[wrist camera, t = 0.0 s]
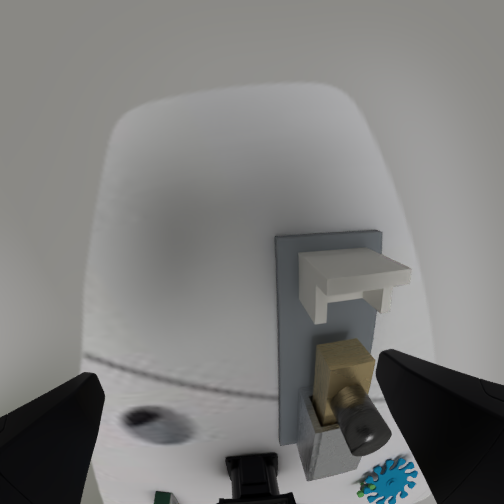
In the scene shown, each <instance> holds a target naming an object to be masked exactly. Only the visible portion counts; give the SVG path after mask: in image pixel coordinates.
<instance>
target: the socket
mask: <svg viewBox="0 0 504 504" xmlns="http://www.w3.org/2000/svg"><path fill="white" fill-rule="evenodd" d="M298 256H299V300H300V302H301V303H302V305H303V306H304V308H305V310H306V311H307V313H308V314H309V316H310V317H311V319H312V321H313V322H314V324H322V323H326V321H327V303H331V302H339V301H346V300H353V299H360V298H363V299H364V300H365V301H366V302H368V303H369V304H370V305H371V306H372V307H373V308H375V309H376V310H377V311H378V312H379V313H380V314H382V313H387V312H390V306H391V298H392V289H393V287H395V286H401V285H407V284H410V278H411V268H409V267H407V266H405V265H403V264H401V263H399V262H396V261H394V260H392V259H390V258H388V257H386V256H384V255H382V254H379V253H377V252H375V251H373V250H371V249H368V248H366V247H364V248H352V249H339V250H327V251H314V252H302V253H298Z"/></svg>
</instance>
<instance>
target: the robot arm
mask: <svg viewBox="0 0 504 504" xmlns="http://www.w3.org/2000/svg"><path fill="white" fill-rule="evenodd" d="M376 378H377V381H378V383H379V386H380V388H381V390H382V393H383V395H384V398H385V400H386V403H387V405H388V408H389V410H390V412H391V414H392V416H393V418H394V420H395V422H396V424H397V426H398V428H399V429H400V431H401V433H402V435H403V437H404V439H405V441H406V442H407V444H408V446H409V448H410V450H411V452H412V454H413V456H414V458H415V460H416V462H417V464H418V466H419V468H420V470H421V471H422V473H423V475H424V477H425V480H426V482H427V484H428V486H429V488H430V490H431V492H432V494H433V496H434V498H435V500H436V502H437V504H504V385H501V384H497V383H493V382H490V381H486V380H483V379H479V378H476V377H473V376H470V375H467V374H464V373H461V372H458V371H455V370H452V369H448V368H445V367H443V366H439V365H437V364H434V363H431V362H428V361H425V360H422V359H419V358H416V357H414V356H411V355H408V354H405V353H402V352H400V351H397V350H394V349H389V350H385V351H382V352H381V353H380V354H379V358H378V363H377V368H376ZM104 401H105V394H104V391H103V388H102V386H101V384H100V381H99V379H98V377H97V375H96V374H95V373H90V372H83V373H82V374H80V375H78V376H76V377H75V378H73V379H71V380H69V381H67V382H65V383H64V384H62V385H60V386H58V387H56V388H54V389H53V390H51V391H49V392H48V393H45V394H43V395H42V396H40V397H38V398H36V399H34V400H32V401H31V402H29V403H27V404H25V405H23V406H21V407H19V408H17V409H16V410H14V411H12V412H10V413H8V415H7V414H6V415H4V416H2V417H0V504H80V502H81V498H82V494H83V489H84V485H85V481H86V477H87V473H88V468H89V465H90V461H91V457H92V454H93V450H94V447H95V443H96V440H97V436H98V431H99V426H100V421H101V415H102V410H103V406H104ZM225 462H226V466H227V469H228V473H229V477H230V480H231V481H232V499H224V498H219V503H216V504H296V502H295V499H294V496H293V493H292V492H290V493H287V494H279V489H278V483H277V478H276V477H277V473H278V456H277V454H275V453H273V454H264V455H254V456H241V457H227V458H226V459H225Z"/></svg>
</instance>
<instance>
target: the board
mask: <svg viewBox="0 0 504 504" xmlns="http://www.w3.org/2000/svg"><path fill="white" fill-rule="evenodd" d="M364 247H366V248H368V249H371V250H373V251H375V252H377V253H379V254H382V232H381V231H378V230H369V231H352V232H335V233H319V234H303V235H288V236H275V250H276V276H277V307H278V351H279V442H280V446H282V445H289V444H295V443H296V431H297V417H298V400H299V388H302V387H308V386H314V376H315V362H316V347H317V345H319V344H325V343H331V342H337V341H343V340H348V339H354V338H357V339H358V340H359V341H360V342H361V344H362V345H363V346H364V347H365V348H366V350H367V351H368V352H369V353H370V354H371V348H372V342H373V335H374V328H375V321H376V313H377V310H376V309H375V308H373V307H372V306H371V305H370V304H369V303H368V302H366V301H365V300H364V299H363V298H360V299H353V300H346V301H339V302H331V303H327V321H326V323H322V324H314V322H313V321H312V319H311V317H310V316H309V314H308V313H307V311H306V310H305V308H304V306H303V305H302V303H301V302H300V300H299V256H298V253H302V252H314V251H327V250H339V249H352V248H364Z"/></svg>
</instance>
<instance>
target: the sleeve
mask: <svg viewBox="0 0 504 504" xmlns="http://www.w3.org/2000/svg"><path fill="white" fill-rule="evenodd" d="M313 388H314V386H308V387H302V388H299V400H298V417H297V431H296V444H297V447H298V451H299V455H300V458H301V462H302V465H303V469H304V473H305V476H306V480H307V481H312V480H316V479H321V478H325V477H329V476H333V475H337V474H341V473H345V472H348V471H352V470H355V469H357V467H358V464H359V462H360V459H361V457H362V456H353V455H352V454H351V452H350V450H349V447H348V445H347V443H346V441H345V439H344V436H343V434H342V432H341V430H340V428H339V425H338V424H333V425H329V426H324V427H320V424H319V422H318V419H317V416H316V414H315V411H314V409H313V406H312V399H313Z"/></svg>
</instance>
